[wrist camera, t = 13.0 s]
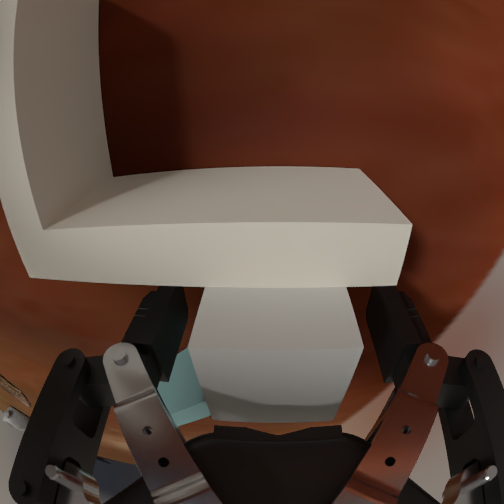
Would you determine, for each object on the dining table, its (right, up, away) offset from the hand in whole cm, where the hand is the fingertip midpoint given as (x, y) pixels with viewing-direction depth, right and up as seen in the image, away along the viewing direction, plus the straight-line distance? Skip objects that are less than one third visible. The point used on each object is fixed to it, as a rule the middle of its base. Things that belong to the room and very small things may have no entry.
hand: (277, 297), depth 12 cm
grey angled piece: (-3, +1, +2) cm, 4 cm away
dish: (-56, -40, +32) cm, 76 cm away
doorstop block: (0, +2, +1) cm, 2 cm away
